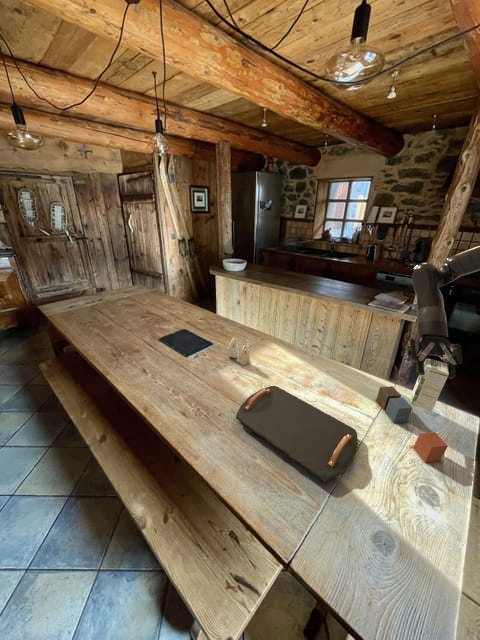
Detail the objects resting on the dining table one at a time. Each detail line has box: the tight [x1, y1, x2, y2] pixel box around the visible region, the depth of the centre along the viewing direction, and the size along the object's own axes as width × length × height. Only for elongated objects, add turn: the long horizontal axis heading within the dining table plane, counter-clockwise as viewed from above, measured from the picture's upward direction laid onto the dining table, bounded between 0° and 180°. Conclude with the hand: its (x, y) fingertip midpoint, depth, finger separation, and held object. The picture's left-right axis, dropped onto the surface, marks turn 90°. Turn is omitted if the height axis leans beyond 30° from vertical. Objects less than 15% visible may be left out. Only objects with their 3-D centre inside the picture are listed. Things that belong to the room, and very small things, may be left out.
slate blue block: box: [384, 397, 413, 424], centre depth 93 cm, size 5×5×6 cm
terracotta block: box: [413, 431, 449, 463], centre depth 80 cm, size 5×5×6 cm
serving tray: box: [235, 385, 359, 483], centre depth 87 cm, size 39×23×6 cm, turn 48°
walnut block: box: [375, 385, 402, 411], centre depth 98 cm, size 5×5×6 cm
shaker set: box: [225, 337, 251, 365], centre depth 122 cm, size 12×4×11 cm, turn 52°
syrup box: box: [410, 358, 449, 412], centre depth 81 cm, size 6×6×14 cm
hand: (436, 376), depth 78 cm, fingers closed on syrup box, 7 cm apart
